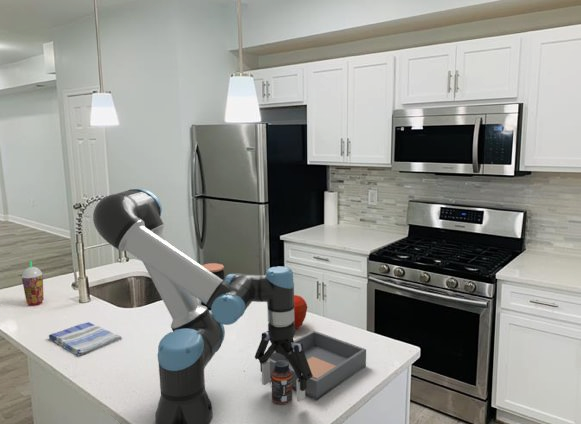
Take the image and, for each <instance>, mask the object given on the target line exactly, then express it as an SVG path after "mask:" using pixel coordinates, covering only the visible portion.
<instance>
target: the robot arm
mask: <svg viewBox="0 0 581 424" xmlns="http://www.w3.org/2000/svg"><path fill="white" fill-rule="evenodd" d="M162 210H163V209H162V204H161V202H160V199H159V198H158V197H157V196H156V195H155V194H154V193H153V192H152V191H150V190H147V189H144V188H132V189H131V188H130V189H128V190H125V191H122V192H118V193H114V194H110V195H106V196H104V197H103V198H101V200H100V199H99V201H98V202H97V204H96V205H95V208H94V209H93V214H92V217H93V218H92V220H93V225H94V227H95V230H96V231H97V233H98V234H99V235H100V236H101V237H102V239H103V240H105V241H106V242H107V243H108V244H109V245H111V246H112V247H114V248H115V249H116V250H117V251H119V252H128V253H129V254H132V255H133V256H134V257H136V258H137V259H139V260H140V261H141V262H142V263H143V265H144V267H145V269H146V271H147V273H148V275H149V277H150V279H151V280H152V282H153V284H154V286H155V289H156V290H157V291H158V294H159V297H160V298H161V300H162V302H163V303H164V305H165V307H166V309H167V311H168V313H169V314H170V317H171V318H172V321H171V324H170V328H171V330H172V331H170V332H168V333H167V334H165V335H164V336H163V337H162V338H161V339H160V341H159V343H158V346H157V348H158V349H157V350H158V351H157V361H158V374H159V386H160V387H159V388H160V396H159V400H158V403H157V407H156V411H155V414H154V415H155V416H154V417H155V418H154V420H155V424H210V422H212V420H213V412H214V411H213V404H212V402H211V400H210V397H209V395H208V393H207V390H206V384H205V383H206V381H205V368H206V367H207V365H208V363H210V361H211V360H212V358H213V357H214V356H215V354H216V353H217V352H218V351H219V350H220V349H221V346H222V344H223V342H224V339H225V334H226V333H225V332H226V331H225V326H230V325H232V324H235V323H236V322H237V321H238V320H239V319H240V318H241V317H243V315H245V314H244V313H246V312H245V311H246V310H247V309H248V307H249V306H250V305H251V304H252V303H253V302H254V303H255V302H257V303H266V306H267V322H268V323H267V330H266V331H264V332H261V340H260V342H259V345H258V347H257V350H256V352H255V355H254V358H255V360H258V362H259V363H260V365H259V366H260V367H259V368H260V372H261V383H262V384H261V385H263V386H265V385H267V384H269V383H270V382H271V378H270V361H266V360H268V358H269V357H270V356H271V355H272V354H273V353H274V352H275V351H276V353H280V354H281V355H284V356H285V358H286V359H288V360H289V362H290V364H291V366H292V368H293V369H294V371H295V373H296V375H297V377H298V379H297V380H296V385H297V391H296V402H298V403H300V402H301V401H303V400H304V399H306V395H305V390H306V388H307V385H306V384H307V380H309V379H310V378H312V377H313V375H312V372H311V370H310V367H309V364H308V362H307V359H306V356H305V354H304V351H303V344H302V343H299V344H297V343H294V341H295V340H294V336H295V335H296V333H295V332H296V329H295V323H294V295H295V283H294V273H293V270H292V269H291V268H290V267H287V266H283V265H282V266H272V267H269V268H268V269H266V272H265V274H252V273H251V274H250V273H249V274H248V273H239V272H238V273H229V274H227V275H226V276H224V279H225V280H224V281H223V280H222V279H220V278H219V277H218V276H216V275H215V274H213V273H212V272H210V271H209V270H207V269H206V268H204V267H203V266H202V264H200V263H198V262H197V261H196V260H194V259H192V257H190V256H189V255H187V254H185V253H184V252H182V251H181V250H179V248H177V247H175V246H174V245H172V244H171V243H170V242H168V241H167V239H166V237H165V235H164V233H163V231H164V227H165V224H164V221H163V220H162V217H161V216H162ZM201 301H202V302H203V303H205V304H206V305H207V306H209V307H210V308H211V310H210V311H211V312H210V311H209V310H208V308H207V307H206V306H202V305H201V303H200V302H201ZM224 325H225V326H224ZM269 343H270V345H269ZM268 346H269V347H268ZM267 347H268V348H267ZM290 351H291V352H292V353H291V354H288V353H290ZM301 374H302V375H301Z"/></svg>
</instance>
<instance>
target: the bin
mask: <svg viewBox="0 0 581 424" xmlns="http://www.w3.org/2000/svg"><path fill="white" fill-rule="evenodd" d="M294 343H297V344H299V343H302V344H303V351H304V354H305V356H306V359H307V362H308V364H309V367H310V370H311V372H312V375H313V377H312V378H310V379H309V380H307V384H306V385H307V388H306V390H305V397H308V398H310V399H312V400H314V401H318V400H320V399H321V398H322V397H324V396H325V395H327V394H329V393H330V392H331V391H333V390H334V389H335V388H337V387H338V386H340V385H341V384H343V383H344V382H346V381H347V380H348V379H350V378H352V377H353V376H354V375H356V374H357V373H359V372H360V371H361V370H362V369H364V368H365V367H366V366H367V349H366V348H363V347H360V346H358V345H355V344H352V343H350V342H347V341H344V340H341V339H338V338H336V337H333V336H330V335H327V334H324V333H321V332H320V331H316V330H312V331H310V332H308V333H306V334H304V335H302V336H301V337H299V338H296V339H295V340H294ZM291 353H292V352H291V351H290V353H288V354H291ZM279 360H284V361H287V362H288V363H289V368H290V369H291V371H292V390H293V389H294V391H296V392H297V385H296V380H297V379H298V377H297V375H296V373H295V371H294V369H293V368H292V366H291V364H290V362H289V360H288V359H286V358H285V356H284V355H281V354H280V353H276V351H275V352H274V353H273V354H272V355H271V356H270V357H269V358H268V360H266V361H270V380H272V370H273V369H274V368H275V362H277V361H279ZM301 375H302V374H301Z"/></svg>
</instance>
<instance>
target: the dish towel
mask: <svg viewBox="0 0 581 424" xmlns="http://www.w3.org/2000/svg"><path fill="white" fill-rule="evenodd" d="M48 338H49V339H50V340H51V341H53V342H55V343H56V344H57V345H59V346H61V347H62V348H64V350H67V351H69V352H70V353H73V354H74V355H76V356H77V357H80V356H85V355H87V354H89V353H92V352H95V351H97V350H99V349H102V348H105V347H106V346H109V345H112V344H115V343H116V342H117V343H118V342H119V340H120V341H122V339H123V337H122V335H119V334H117V333H113V332H112V331H110V330H107V329H104V328H102V327H101V326H97V325H95V324H94V323H93V322H89V321H88V322H84V323H80V324H78V325H74V326H71V327H68V328H65V329H63V330H60V331H57V332H53V333H50V334H49V335H48Z"/></svg>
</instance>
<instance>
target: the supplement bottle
mask: <svg viewBox="0 0 581 424" xmlns="http://www.w3.org/2000/svg"><path fill="white" fill-rule="evenodd" d="M271 400H272V402H274V403H275V404H278V405H286V404H289V403H290V402H291V401H293V389H292V371H291V369H290V368H289V363H288V362H287V361H284V360H279V361H277V362H275V368H274V369H273V370H272V379H271Z"/></svg>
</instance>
